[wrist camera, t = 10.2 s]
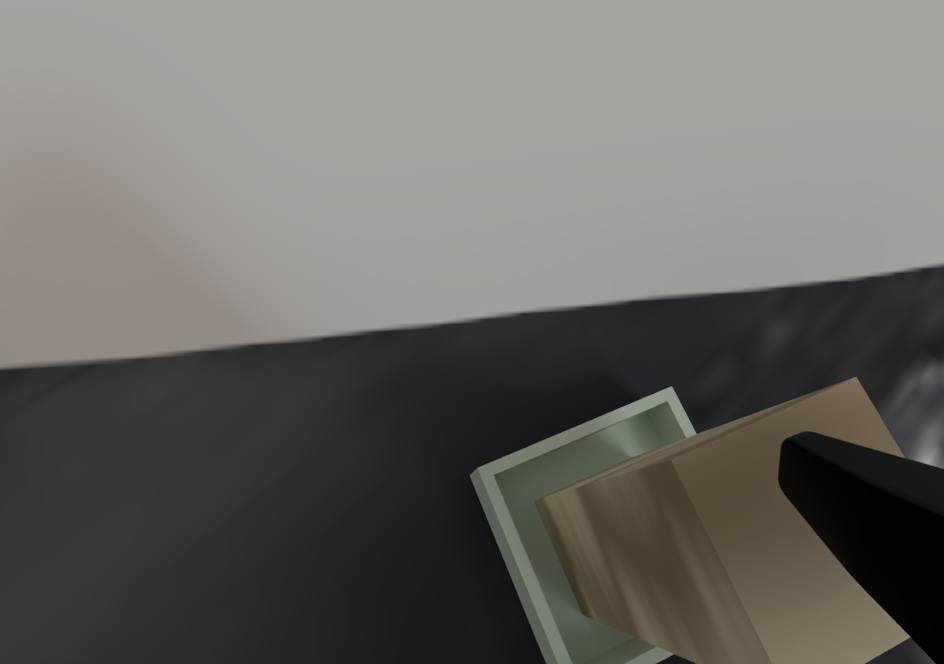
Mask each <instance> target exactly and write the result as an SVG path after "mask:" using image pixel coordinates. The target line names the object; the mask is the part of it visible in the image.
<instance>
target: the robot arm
mask: <svg viewBox="0 0 944 664" xmlns="http://www.w3.org/2000/svg"><path fill="white" fill-rule="evenodd" d="M778 483H779V486H780V488H781V490H782V492H783V493H784V495H785V496H786V497H787V499H788V500H789V501H790V502H791V503H792V505H793V506H794V507H795V508H796V510H797V511H798V512H799V513H800V515H801V516H802V517H803V518H804V519H805V521H806V522H807V523H808V524H809V526H810V527H811V528H812V529H813V531H814V532H815V533H816V534H817V535H818V537H819V538H820V539H821V540H822V542H823V543H824V544H825V545H826V546H827V548H828V549H829V550H830V551H831V553H832V554H833V555H834V556H835V558H836V559H837V560H838V561H839V562H840V564H841V565H842V566H843V567H844V568H845V569H846V571H847V572H848V573H849V574H850V575H851V576H852V577H853V578H854V580H855V581H856V582H857V583H858V584H859V585H860V586H861V587H862V588H863V589H864V590H865V591H866V592H867V593H868V594H869V595H870V596H871V597H872V598H873V599H874V600H875V601H876V602H877V604H878V605H879V606H880V607H881V608H882V609H883V610H884V611H885V612H886V613H887V614H888V615H889V616H890V617H891V618H892V619H893V620H894V621H895V622H896V623H897V624H898V625H899V626H900V627H901V628H902V629H903V630H904V631H905V632H906V633H907V634H908V635H909V636H910V637H911V638H912V639H913V640H914V641H915V642H916V643H917V644H918V646H919V647H920V648H921V649H922V650H923V651H924V652H925V653H926V654H927V655H928V656H929V657H930V658H931V659H932V660H933V661H934V662H935V663H936V664H944V469H941V468H938V467H934V466H931V465H927V464H924V463H920V462H917V461H913V460H910V459H906V458H903V457H900V456H896V455H893V454H889V453H886V452H882V451H879V450H875V449H872V448H868V447H865V446H861V445H858V444H854V443H851V442H847V441H844V440H840V439H837V438H833V437H830V436H826V435H823V434H819V433H816V432H812V431H803V432H800V433H798V434H795V435H793V436H791V437H788V438H786V439H785V440H784V441H783V442H782V444H781V448H780V458H779V468H778Z"/></svg>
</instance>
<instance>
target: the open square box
mask: <svg viewBox="0 0 944 664" xmlns="http://www.w3.org/2000/svg"><path fill="white" fill-rule="evenodd" d="M693 435H696V432H695V430H694V428H693V426H692V424H691V422H690V420H689V419H688V417H687V415H686V413H685V411H684V409H683V407H682V405H681V403H680V401H679V399H678V397H677V395H676V393H675V391H674V389H673V387H672V386H671V387H669V388H667V389H664V390H662V391H659V392H657V393H655V394H652V395H650V396H648V397H645V398H643V399H640V400H638V401H636V402H633V403H631V404H629V405H626V406H624V407H621V408H619V409H617V410H614V411H612V412H609V413H607V414H605V415H602V416H600V417H598V418H595V419H593V420H590V421H588V422H586V423H583V424H581V425H579V426H576V427H574V428H571V429H569V430H567V431H564V432H562V433H559V434H557V435H555V436H552V437H550V438H548V439H545V440H543V441H540V442H538V443H536V444H533V445H531V446H529V447H526V448H524V449H521V450H519V451H517V452H514V453H512V454H509V455H507V456H505V457H502V458H500V459H498V460H495V461H493V462H490V463H488V464H486V465H483V466H481V467H479V468H477V469H476V470H475V471H474V472H473V473H472V474H471V475H470V478H471V480H472V483H473V485H474V488H475V490H476V493H477V495H478V497H479V500H480V502H481V505H482V507H483V510H484V512H485V515H486V517H487V520H488V522H489V525H490V527H491V529H492V532H493V534H494V537H495V539H496V542H497V544H498V547H499V549H500V552H501V554H502V557H503V559H504V561H505V564H506V566H507V569H508V571H509V574H510V576H511V579H512V581H513V584H514V586H515V588H516V591H517V593H518V596H519V598H520V601H521V603H522V606H523V608H524V611H525V613H526V616H527V618H528V620H529V623H530V625H531V628H532V630H533V633H534V635H535V638H536V640H537V643H538V645H539V648H540V650H541V652H542V655H543V657H544V660H545V662H546V664H656V663H658V662H660V661H662V660H664V659H666V658H668V657H670V656H672V655H673V653H671V652H668V651H666V650H664V649H661V648H659V647H657V646H654V645H652V644H650V643H647V642H645V641H643V640H640V639H638V638H636V637H633V636H631V635H629V634H627V633H624V632H622V631H620V630H617V629H615V628H613V627H610V626H608V625H606V624H603V623H601V622H599V621H596V620H594V619H592V618H589V617H587V616H585V615H583V614H582V612H581V610H580V607H579V605H578V603H577V600H576V598H575V596H574V593H573V591H572V589H571V586H570V584H569V582H568V579H567V577H566V575H565V572H564V570H563V568H562V565H561V563H560V561H559V559H558V556H557V554H556V552H555V549H554V547H553V545H552V542H551V540H550V538H549V535H548V533H547V531H546V528H545V526H544V524H543V521H542V519H541V517H540V514H539V512H538V510H537V507H536V505H535V503H534V500H537V499H539V498H541V497H543V496H546V495H548V494H550V493H552V492H555V491H557V490H559V489H561V488H564V487H566V486H568V485H571V484H573V483H575V482H577V481H580V480H582V479H584V478H586V477H589V476H591V475H593V474H595V473H598V472H600V471H602V470H605V469H607V468H609V467H611V466H614V465H616V464H618V463H620V462H623V461H625V460H627V459H630V458H632V457H635V456H637V455H640V454H643V453H646V452H648V451H651V450H654V449H657V448H660V447H662V446H665V445H668V444H671V443H674V442H676V441H679V440H682V439H685V438H687V437H690V436H693Z"/></svg>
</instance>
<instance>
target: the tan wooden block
mask: <svg viewBox="0 0 944 664" xmlns="http://www.w3.org/2000/svg"><path fill="white" fill-rule="evenodd" d="M803 431H812V432H816V433H819V434H823V435H826V436H830V437H833V438H837V439H840V440H844V441H847V442H851V443H854V444H858V445H861V446H865V447H868V448H872V449H875V450H879V451H882V452H886V453H889V454H893V455H896V456H900V457H903V458H905V457H904V455H903V454H902V452H901V450H900V449H899V447H898V445H897V444H896V442H895V440H894V439H893V437H892V435H891V434H890V432H889V430H888V429H887V427H886V425H885V424H884V422H883V420H882V419H881V417H880V415H879V414H878V412H877V410H876V409H875V407H874V405H873V404H872V402H871V400H870V399H869V397H868V395H867V394H866V392H865V390H864V389H863V387H862V385H861V384H860V382H859V380H858V379H857V377H854V378H851V379H849V380H846V381H843V382H840V383H838V384H835V385H832V386H829V387H826V388H824V389H821V390H818V391H815V392H813V393H810V394H807V395H804V396H801V397H799V398H796V399H793V400H790V401H788V402H785V403H782V404H779V405H776V406H774V407H771V408H768V409H765V410H762V411H760V412H757V413H754V414H751V415H749V416H746V417H743V418H740V419H737V420H735V421H732V422H729V423H726V424H724V425H721V426H718V427H715V428H712V429H710V430H707V431H704V432H701V433H699V434H696V435H693V436H690V437H687V438H685V439H682V440H679V441H676V442H674V443H671V444H668V445H665V446H662V447H660V448H657V449H654V450H651V451H648V452H646V453H643V454H640V455H637V456H635V457H632V458H630V459H627V460H625V461H623V462H620V463H618V464H616V465H614V466H611V467H609V468H607V469H605V470H602V471H600V472H598V473H595V474H593V475H591V476H589V477H586V478H584V479H582V480H580V481H577V482H575V483H573V484H571V485H568V486H566V487H564V488H561V489H559V490H557V491H555V492H552V493H550V494H548V495H546V496H543V497H541V498H539V499H537V500H534V503H535V505H536V507H537V510H538V512H539V514H540V517H541V519H542V521H543V524H544V526H545V528H546V531H547V533H548V535H549V538H550V540H551V542H552V545H553V547H554V549H555V552H556V554H557V556H558V559H559V561H560V563H561V565H562V568H563V570H564V572H565V575H566V577H567V579H568V582H569V584H570V586H571V589H572V591H573V593H574V596H575V598H576V600H577V603H578V605H579V607H580V610H581V612H582V614H583V615H585V616H587V617H589V618H592V619H594V620H596V621H599V622H601V623H603V624H606V625H608V626H610V627H613V628H615V629H617V630H620V631H622V632H624V633H627V634H629V635H631V636H633V637H636V638H638V639H640V640H643V641H645V642H647V643H650V644H652V645H654V646H657V647H659V648H661V649H664V650H666V651H668V652H671V653H673V654H675V655H678V656H680V657H682V658H685V659H687V660H689V661H692V662H694V663H696V664H865V663H867V662H868V661H870V660H872V659H874V658H875V657H877V656H879V655H881V654H882V653H884V652H886V651H888V650H889V649H891V648H893V647H894V646H896V645H898V644H900V643H901V642H903V641H905V640H907V639H908V638H910V636H909V635H908V634H907V633H906V632H905V631H904V630H903V629H902V628H901V627H900V626H899V625H898V624H897V623H896V622H895V621H894V620H893V619H892V618H891V617H890V616H889V615H888V614H887V613H886V612H885V611H884V610H883V609H882V608H881V607H880V606H879V605H878V604H877V602H876V601H875V600H874V599H873V598H872V597H871V596H870V595H869V594H868V593H867V592H866V591H865V590H864V589H863V588H862V587H861V586H860V585H859V584H858V583H857V582H856V581H855V580H854V578H853V577H852V576H851V575H850V574H849V573H848V572H847V571H846V569H845V568H844V567H843V566H842V565H841V564H840V562H839V561H838V560H837V559H836V558H835V556H834V555H833V554H832V553H831V551H830V550H829V549H828V548H827V546H826V545H825V544H824V543H823V542H822V540H821V539H820V538H819V537H818V535H817V534H816V533H815V532H814V531H813V529H812V528H811V527H810V526H809V524H808V523H807V522H806V521H805V519H804V518H803V517H802V516H801V515H800V513H799V512H798V511H797V510H796V508H795V507H794V506H793V505H792V503H791V502H790V501H789V500H788V499H787V497H786V496H785V495H784V493H783V492H782V490H781V488H780V486H779V483H778V468H779V458H780V448H781V444H782V442H783V441H784V440H785V439H786V438H788V437H791V436H793V435H795V434H798V433H800V432H803Z"/></svg>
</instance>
